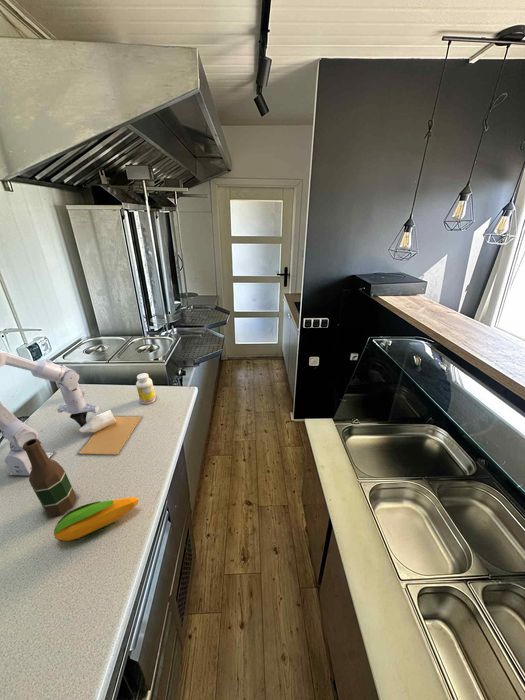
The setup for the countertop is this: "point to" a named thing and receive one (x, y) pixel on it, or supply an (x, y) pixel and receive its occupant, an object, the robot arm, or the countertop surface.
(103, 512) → the corn
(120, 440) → the mat
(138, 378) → the supplement bottle
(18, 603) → the countertop surface
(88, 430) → the white radish
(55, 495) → the beer bottle
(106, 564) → the countertop surface
